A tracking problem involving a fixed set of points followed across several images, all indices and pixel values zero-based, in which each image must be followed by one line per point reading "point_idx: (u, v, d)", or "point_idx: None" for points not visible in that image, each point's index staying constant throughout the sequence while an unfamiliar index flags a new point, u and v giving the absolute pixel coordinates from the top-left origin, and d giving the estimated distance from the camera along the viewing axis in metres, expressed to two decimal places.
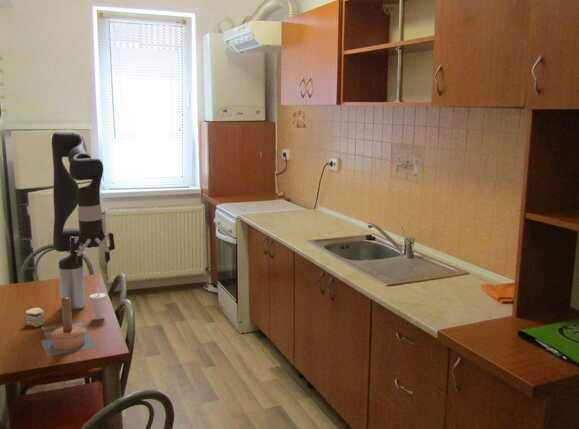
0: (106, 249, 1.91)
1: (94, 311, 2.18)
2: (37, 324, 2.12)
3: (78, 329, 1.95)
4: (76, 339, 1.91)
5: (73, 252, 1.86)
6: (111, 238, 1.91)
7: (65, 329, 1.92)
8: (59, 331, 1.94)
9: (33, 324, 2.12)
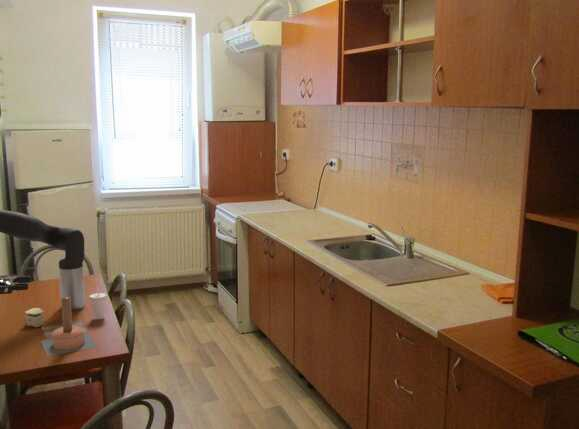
0: None
1: (94, 311, 2.18)
2: (37, 324, 2.11)
3: (78, 329, 1.95)
4: (76, 339, 1.91)
5: None
6: None
7: (65, 329, 1.92)
8: (59, 331, 1.94)
9: (33, 324, 2.12)
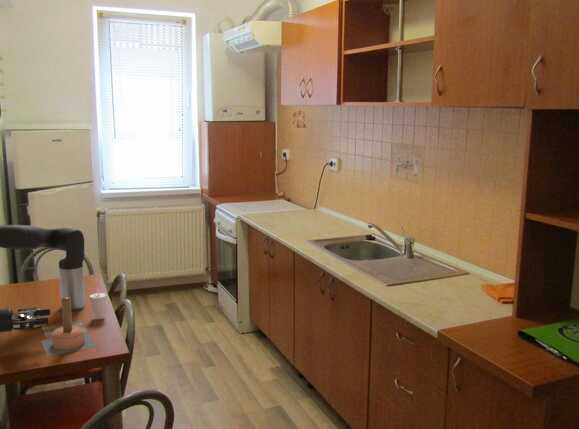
0: None
1: (94, 311, 2.18)
2: (36, 325, 2.11)
3: (78, 329, 1.95)
4: (76, 339, 1.91)
5: None
6: None
7: (65, 329, 1.92)
8: (59, 331, 1.94)
9: None
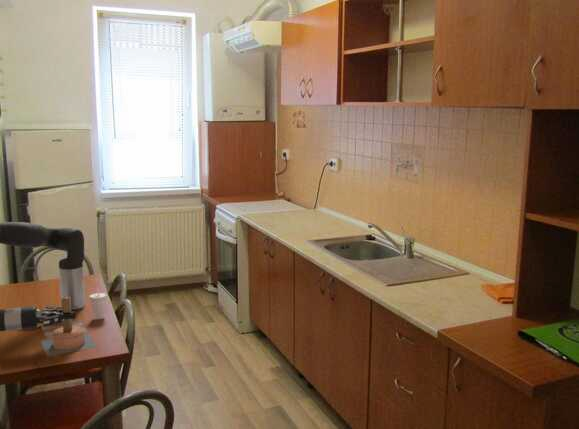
0: None
1: (94, 311, 2.18)
2: None
3: (78, 329, 1.95)
4: (76, 339, 1.91)
5: None
6: None
7: (65, 329, 1.92)
8: (59, 331, 1.94)
9: None
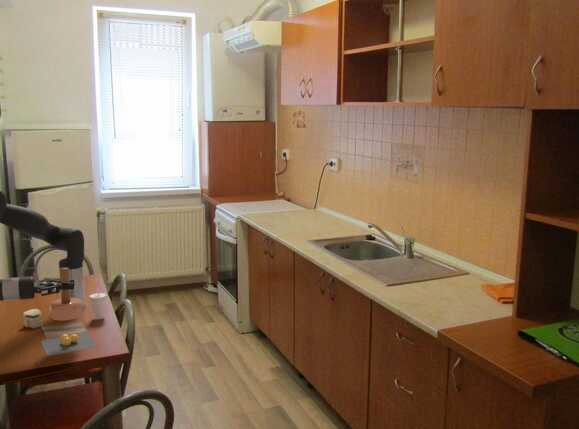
0: None
1: (94, 311, 2.18)
2: (35, 326, 2.10)
3: (76, 300, 1.94)
4: (74, 310, 1.89)
5: None
6: None
7: (63, 300, 1.91)
8: (57, 302, 1.92)
9: (31, 326, 2.11)
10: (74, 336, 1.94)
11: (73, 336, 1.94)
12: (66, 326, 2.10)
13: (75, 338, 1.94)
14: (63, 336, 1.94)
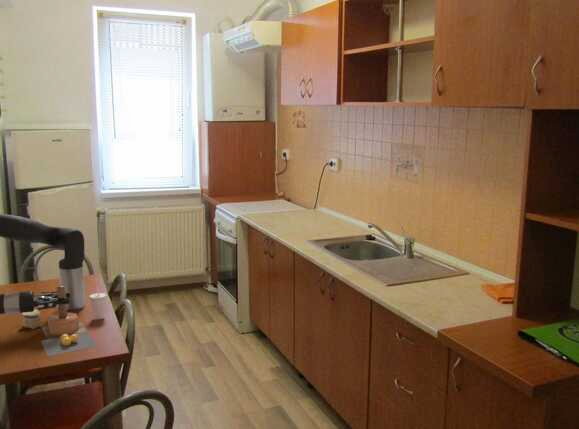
0: None
1: (94, 311, 2.18)
2: (34, 326, 2.10)
3: (72, 315, 2.09)
4: (70, 325, 2.04)
5: None
6: None
7: (60, 316, 2.05)
8: (55, 317, 2.07)
9: (30, 326, 2.10)
10: (74, 336, 1.94)
11: (73, 336, 1.94)
12: None
13: (75, 338, 1.94)
14: (63, 336, 1.94)
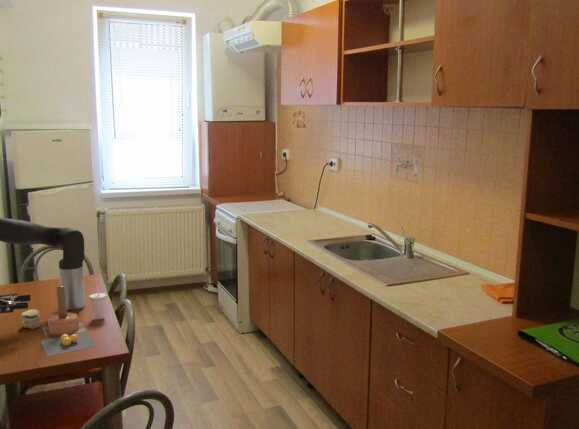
0: None
1: (94, 311, 2.18)
2: (33, 326, 2.10)
3: (72, 315, 2.09)
4: (70, 325, 2.04)
5: None
6: None
7: (60, 316, 2.05)
8: (55, 317, 2.07)
9: (29, 326, 2.10)
10: (74, 336, 1.94)
11: (73, 336, 1.94)
12: None
13: (75, 338, 1.94)
14: (63, 336, 1.94)
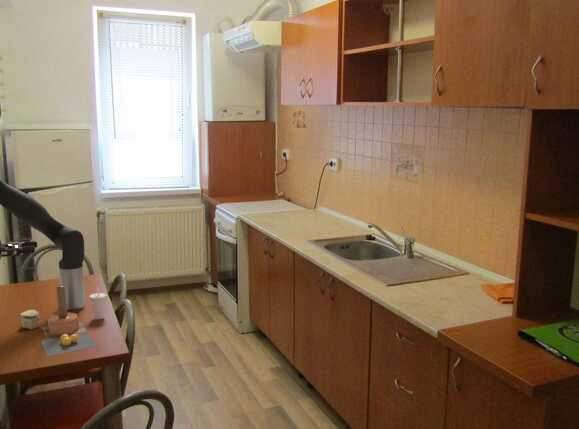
0: None
1: (94, 311, 2.18)
2: (32, 327, 2.09)
3: (72, 315, 2.09)
4: (70, 325, 2.04)
5: (22, 247, 2.06)
6: None
7: (60, 316, 2.05)
8: (55, 317, 2.07)
9: (28, 326, 2.10)
10: (74, 336, 1.94)
11: (73, 336, 1.94)
12: None
13: (75, 338, 1.94)
14: (63, 336, 1.94)
